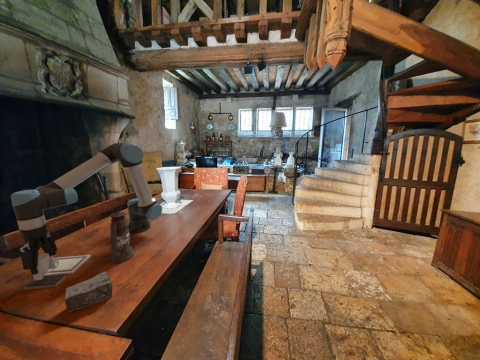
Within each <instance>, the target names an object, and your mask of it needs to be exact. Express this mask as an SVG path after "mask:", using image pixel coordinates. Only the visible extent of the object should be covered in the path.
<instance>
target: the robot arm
mask: <svg viewBox="0 0 480 360" xmlns="http://www.w3.org/2000/svg"><path fill="white" fill-rule="evenodd" d="M143 160H144V151H143V148H142V147H141V146H139V145H138V144H137V143H135V142H134V143H132V142H114V143H112V144H110V145H108V146H106V147H105V148H103V149H101V150H99V151H97V153H96V155H94V156H93V157H92V158H90V159H88V160H86V161H85V162H83V163H81V164H80V165H78V166H77V167H75V168H73V169H72V170H69V171H68V172H66V173H65V174H63V175H61V176H60V177H58V178H56V179H55V180H53V181H51V182H49V183H47V184H46V185H42V186H38V187H36V188H35V189H26V190H20V191H16V192H13V193H12V194H11V195H10V200H11V206H12V209H13V211H14V214H15V217H16V221H17V225H18V229H19V232H20V237H21V239H23V240H24V245H22V246H21V247H18V248H17V251H18V253H19V254H20V259H21V263H22V268H23V270H24V271H26V270H29V271H30V274H31V275H32V278H33V280H42V279H43V277H44V276H43V275H42V271H41V268H40V265H38V255H39V251H40V249H41V250H42V251H43V253H49V258H50V257H54V258H55V255H57V251H58V247H57V244H56V241H55V238H54V232H53V231H49V229H48V225H47V221H46V217H45V212H44V211H47V210H50V209H56V208H59V207H62V206H68V205H71V204H74V203H76V202H78V196H79V195H78V193H77V191H76V189H74V188H75V187H76V186H78V185H79V184H81V183H83V182H84V181H85V180H87V179H88V178H90V177H91V176H93V175H95V174H96V173H98V172H99V171H101V170H102V169H104V168H105V167H106V166H112V165H113V164H115V163H118V162H120V165H121V168H122V169H125V170H126V173H127V176H128V177H129V179H130V182H131V184H132V187H133V190H134V192H135V193H134V194H135V195H136V198H132V199H130V200H128V201H127V209H128V210H127V211H128V220H129V221H128V228H129V233H130V234H131V233H134V234H136V233H142V232H144V231H147V230H149V229H150V228H151V221H154V220H157V219H159V217H161V214H162V213H163V206H162V204H160V203H158V201H157V199H156V197H153V195H152V191H151V190H150V187H149V183H148V181H147V178H146V175H145V172H144V170H143V168H142V165H143ZM55 267H56V265H55V261H54V260H53V259H49V268H48V269H54V268H55Z"/></svg>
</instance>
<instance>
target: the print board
mask: <svg viewBox="0 0 480 360" xmlns="http://www.w3.org/2000/svg"><path fill="white" fill-rule="evenodd" d="M91 257H92V254H86V255H75V256H73V255H72V256H59V257H57V258H56V259H57V260H58V262H59V265H58V267H57V268H56V269H54V270H53V269H48V270H49V271H51V270H53V271H52V272H50V273H47V274H45V275H43V277H52V276H62V275H70V274H74V272H76V271H77V270H78V269H80V267H81V266H82V265H84V263H86V261H88V259H90V258H91ZM54 261H55V260H54ZM55 265H56V266H57V263H56V261H55Z"/></svg>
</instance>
